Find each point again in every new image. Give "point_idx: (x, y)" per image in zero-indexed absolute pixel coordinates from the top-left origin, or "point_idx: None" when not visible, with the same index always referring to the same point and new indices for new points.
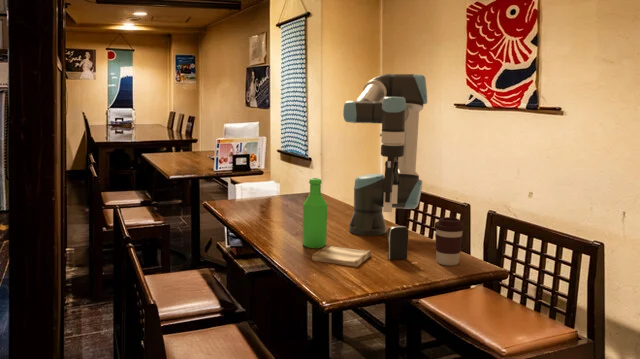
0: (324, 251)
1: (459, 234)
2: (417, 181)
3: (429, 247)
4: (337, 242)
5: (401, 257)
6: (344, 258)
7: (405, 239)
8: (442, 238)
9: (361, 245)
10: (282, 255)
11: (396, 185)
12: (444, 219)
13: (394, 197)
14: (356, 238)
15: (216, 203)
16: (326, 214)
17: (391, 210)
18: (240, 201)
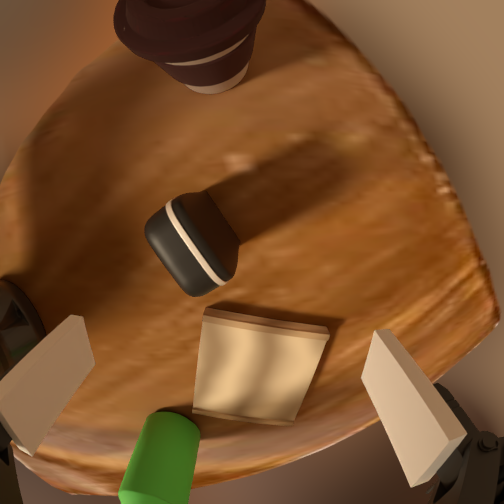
0: (246, 412)
1: None
2: None
3: (68, 142)
4: (122, 388)
5: (217, 209)
6: (298, 367)
7: (198, 204)
8: (250, 40)
9: (117, 336)
10: (268, 456)
11: (1, 411)
12: (152, 8)
13: (63, 358)
14: None
15: (57, 487)
16: (150, 472)
17: (393, 336)
18: (31, 467)
